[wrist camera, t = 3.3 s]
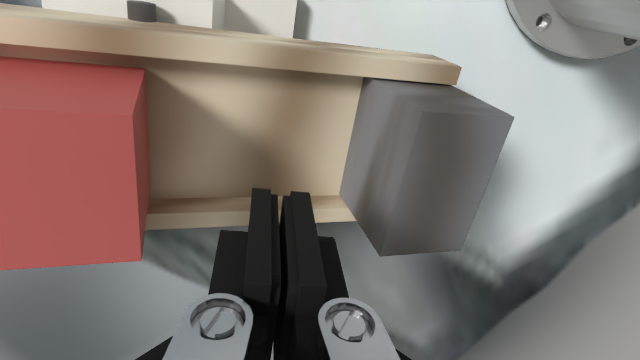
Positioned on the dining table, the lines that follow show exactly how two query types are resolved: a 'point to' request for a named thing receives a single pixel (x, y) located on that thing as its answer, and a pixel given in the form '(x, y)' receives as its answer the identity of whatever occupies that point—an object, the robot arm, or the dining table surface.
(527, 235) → the dining table surface
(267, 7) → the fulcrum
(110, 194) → the block
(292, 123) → the beam
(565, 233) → the dining table surface
